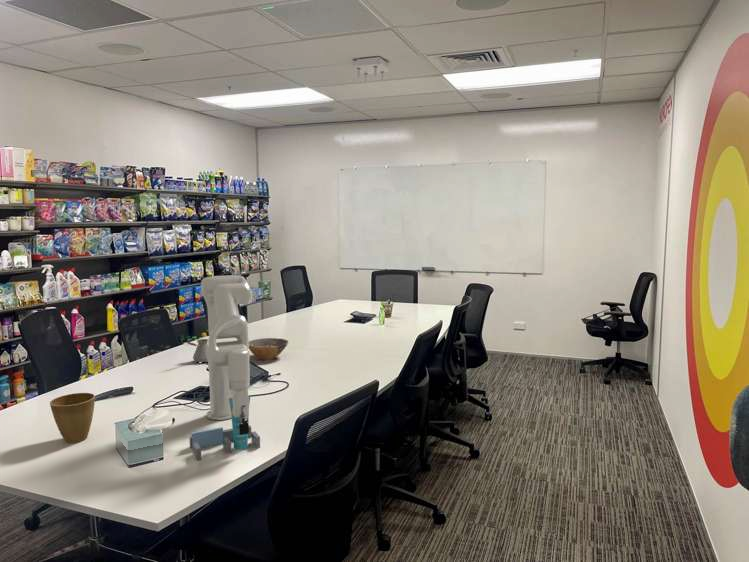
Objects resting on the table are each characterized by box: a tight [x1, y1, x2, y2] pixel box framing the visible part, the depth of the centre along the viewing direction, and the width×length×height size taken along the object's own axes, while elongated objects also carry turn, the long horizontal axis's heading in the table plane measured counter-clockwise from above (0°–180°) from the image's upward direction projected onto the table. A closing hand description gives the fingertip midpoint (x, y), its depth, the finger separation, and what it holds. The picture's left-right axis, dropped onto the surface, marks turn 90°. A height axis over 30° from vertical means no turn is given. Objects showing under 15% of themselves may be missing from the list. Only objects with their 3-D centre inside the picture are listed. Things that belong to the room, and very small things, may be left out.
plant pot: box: [49, 392, 96, 444], centre depth 206 cm, size 15×15×16 cm
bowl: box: [248, 337, 289, 361], centre depth 327 cm, size 25×25×10 cm
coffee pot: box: [185, 338, 209, 363], centre depth 314 cm, size 21×12×15 cm, turn 164°
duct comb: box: [188, 424, 261, 461], centre depth 199 cm, size 13×22×6 cm, turn 119°
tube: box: [229, 395, 251, 451], centre depth 198 cm, size 7×5×19 cm, turn 113°
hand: (240, 429), depth 198 cm, fingers open, 9 cm apart
